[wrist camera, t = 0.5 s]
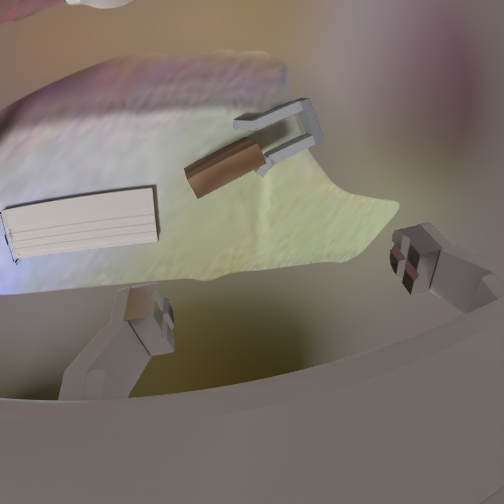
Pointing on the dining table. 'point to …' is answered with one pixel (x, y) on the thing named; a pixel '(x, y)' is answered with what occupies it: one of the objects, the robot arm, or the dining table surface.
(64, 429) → the robot arm
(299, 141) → the grey channel
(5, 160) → the dining table surface
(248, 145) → the walnut plank
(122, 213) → the baseboard molding
